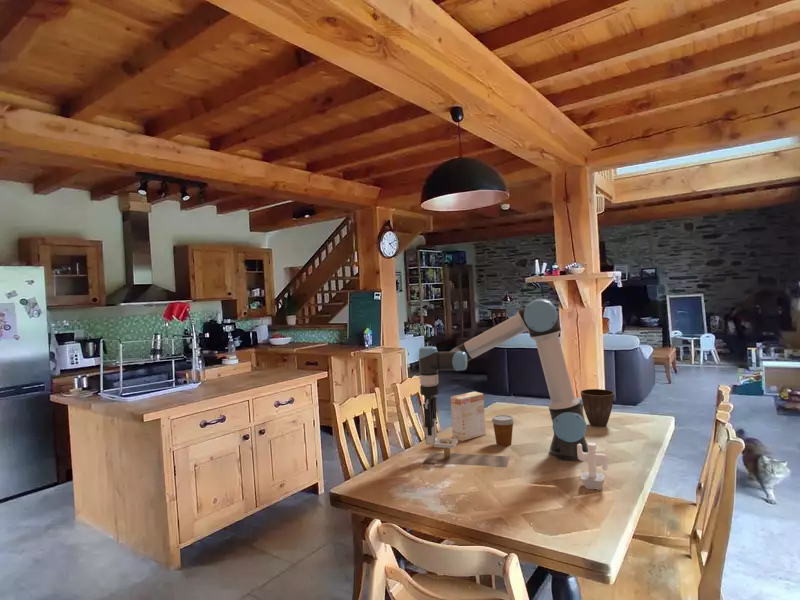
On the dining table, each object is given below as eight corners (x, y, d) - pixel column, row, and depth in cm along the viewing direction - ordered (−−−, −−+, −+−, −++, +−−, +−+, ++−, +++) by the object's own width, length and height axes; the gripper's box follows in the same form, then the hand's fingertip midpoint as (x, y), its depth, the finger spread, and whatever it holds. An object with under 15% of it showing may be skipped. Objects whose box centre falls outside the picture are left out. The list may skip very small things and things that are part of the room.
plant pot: (590, 419, 251) (589, 387, 251) (620, 424, 240) (619, 391, 240) (576, 426, 241) (574, 393, 240) (606, 431, 230) (605, 397, 230)
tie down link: (458, 441, 206) (457, 417, 206) (454, 448, 199) (453, 423, 198) (429, 440, 210) (428, 416, 210) (424, 446, 202) (423, 421, 202)
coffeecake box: (476, 431, 240) (474, 391, 240) (486, 434, 234) (484, 393, 234) (451, 438, 232) (449, 396, 232) (461, 441, 226) (459, 398, 226)
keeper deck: (509, 457, 202) (509, 438, 202) (507, 468, 191) (506, 448, 191) (430, 453, 212) (429, 435, 212) (423, 463, 201) (422, 444, 201)
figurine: (608, 492, 165) (606, 447, 165) (577, 489, 169) (575, 445, 168) (608, 484, 172) (606, 441, 171) (579, 481, 175) (577, 439, 175)
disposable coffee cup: (490, 447, 216) (489, 419, 216) (495, 440, 225) (494, 414, 224) (513, 449, 212) (511, 421, 212) (516, 442, 221) (515, 415, 221)
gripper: (425, 380, 214) (427, 435, 214) (415, 388, 198) (417, 447, 199) (442, 380, 211) (444, 435, 212) (433, 388, 196) (436, 448, 197)
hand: (431, 441), depth 206 cm, fingers closed on tie down link, 3 cm apart
